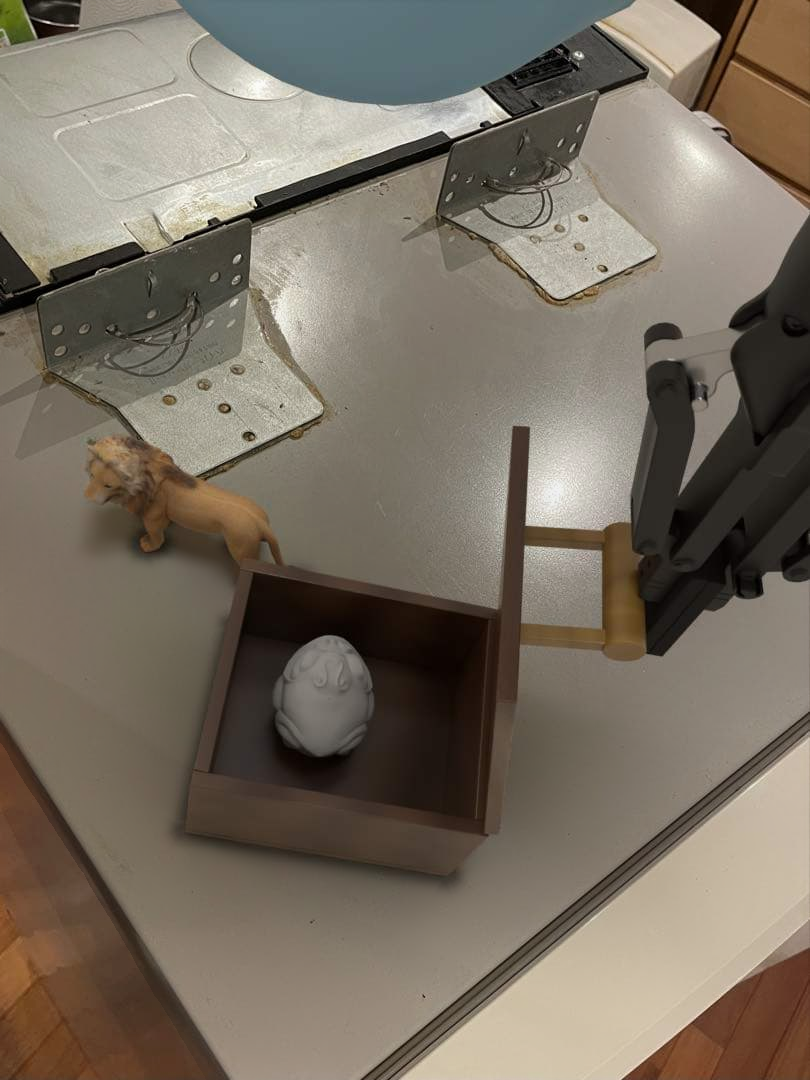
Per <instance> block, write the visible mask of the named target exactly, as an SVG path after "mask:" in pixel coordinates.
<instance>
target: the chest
mask: <svg viewBox="0 0 810 1080" xmlns="http://www.w3.org/2000/svg"><path fill="white" fill-rule="evenodd" d="M287 566H288V565H287ZM287 566H282V565H277V564H276V563H271V562H267V561H262V560H260V561H257V560H252V559H247V558H243V559H242V563H241V567H240V568H239V572H238V577H237V579H236V580H237V581H236V585H235V590H234V594H233V598H232V603H231V607H230V611H229V615H228V619H227V624H226V628H225V632H224V637H223V642H222V645H221V650H220V655H219V659H218V662H217V667H216V670H215V675H214V679H213V685H212V688H211V693H210V697H209V701H208V706H207V710H206V715H205V719H204V722H203V727H202V731H201V736H200V740H199V744H198V745H199V746H198V749H197V753H196V758H195V762H194V767H193V771H192V775H191V779H190V784H189V790H188V791H189V793H188V799H187V800H188V801H187V812H186V820H185V831H184V832H185V833H186V834H190V835H191V834H192V835H196V836H202V837H209V838H215V839H221V840H226V841H227V840H228V841H233V842H239V843H246V844H250V845H257V846H262V847H267V848H275V849H280V850H287V851H292V852H299V853H303V854H304V853H305V854H311V855H315V856H316V855H317V856H321V857H328V858H335V859H340V860H345V861H352V862H359V863H365V864H369V865H376V866H381V867H388V868H394V869H399V870H406V871H411V872H418V873H424V874H429V875H435V876H440V877H441V876H442V877H448V876H450V874H452V872H454V871H455V870H456V869H457V868H458V867H459V866H460V865H461V864H462V863H463V862H464V861H465V860H466V859H467V858H468V857H469V856H471V855H472V854H473V852H475V851H476V850H477V849H478V848H479V847H480V846H481V845H483V843H484V842H485V841H486V840H487V839H488V838H489V837H490V834H485V833H484V823H485V807H486V791H487V775H488V759H489V743H490V727H491V711H492V695H493V679H494V663H495V647H496V631H497V615H498V608H493V607H489V606H483V605H479V604H473V603H468V602H464V601H459V600H455V599H450V598H444V597H440V596H434V595H429V594H425V593H420V592H414V591H409V590H405V589H400V588H395V587H389V586H386V585H385V586H384V585H380V584H376V583H370V582H365V581H361V580H355V579H352V578H351V579H350V578H346V577H341V576H335V575H330V574H325V573H322V572H316V571H311V570H306V569H304V570H302V569H303V568H301V569H297V568H298V567H297V568H292V567H287ZM328 635H332V636H338V637H341V638H343V639H345V640H346V641H348V642H349V643H350V644H351V645H352V646H353V647H354V648H355V650H356V651H357V652H358V653H359V655H360V656H361V658H362V659H363V661H364V663H365V665H366V666H367V668H368V670H369V673H370V676H371V680H372V685H373V686H372V689H371V690H372V692H373V695H374V703H375V706H374V712H373V716H372V719H371V720H370V721H369V722H368V723H366V725H367V731H366V733H365V735H364V737H363V739H362V741H361V742H360V743H359V744H358V746H356V747H354V748H353V749H351V751H350V752H349V753H348V754H347V755H338V754H335V755H332V756H329V757H310V756H307V755H304V754H302V753H300V752H298V751H296V750H295V749H292V748H288V747H287V746H286V745H285V744H284V743H283V740H282V737H281V735H280V734H279V732H278V730H277V728H276V725H275V714H276V713H277V712H276V711H275V710H274V709H273V707H272V704H271V703H272V692H273V688H274V685H275V683H276V681H277V680H278V678H279V677H280V676H281V675H282V674H283V673H284V670H285V668H286V666H287V664H288V662H289V660H290V659H291V658H292V657H293V655H294V654H295V653H296V652H297V651H298V650H299V649H300V648H302V647H303V646H305V645H306V644H308V643H309V642H311V641H313V640H315V639H317V638H319V637H322V636H328Z"/></svg>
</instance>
